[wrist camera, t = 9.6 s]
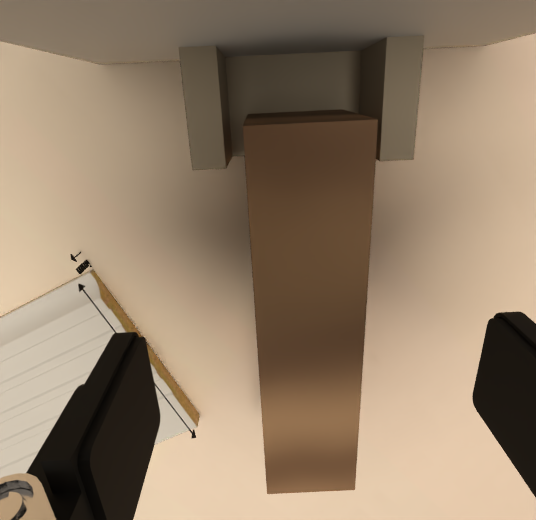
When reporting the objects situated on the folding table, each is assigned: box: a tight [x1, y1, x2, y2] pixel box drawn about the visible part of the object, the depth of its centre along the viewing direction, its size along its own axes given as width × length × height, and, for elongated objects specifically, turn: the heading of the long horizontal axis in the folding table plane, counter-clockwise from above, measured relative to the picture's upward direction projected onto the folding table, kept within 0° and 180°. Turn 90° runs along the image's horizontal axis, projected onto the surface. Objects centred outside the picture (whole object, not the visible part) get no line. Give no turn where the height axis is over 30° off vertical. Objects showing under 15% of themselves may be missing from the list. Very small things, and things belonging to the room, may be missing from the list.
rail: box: [243, 109, 378, 494], centre depth 17 cm, size 16×4×6 cm, turn 3°
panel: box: [0, 0, 536, 170], centre depth 10 cm, size 5×16×14 cm, turn 93°
